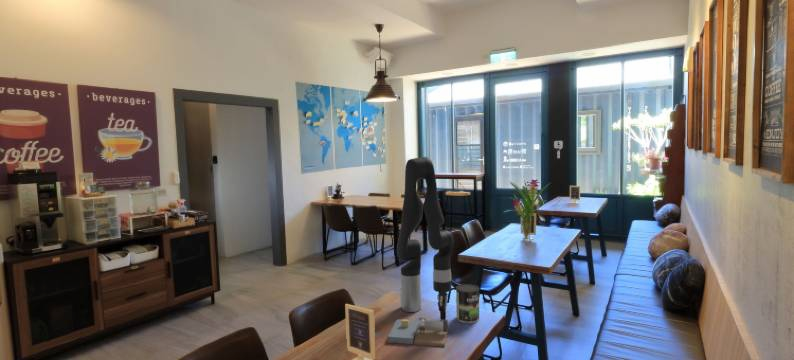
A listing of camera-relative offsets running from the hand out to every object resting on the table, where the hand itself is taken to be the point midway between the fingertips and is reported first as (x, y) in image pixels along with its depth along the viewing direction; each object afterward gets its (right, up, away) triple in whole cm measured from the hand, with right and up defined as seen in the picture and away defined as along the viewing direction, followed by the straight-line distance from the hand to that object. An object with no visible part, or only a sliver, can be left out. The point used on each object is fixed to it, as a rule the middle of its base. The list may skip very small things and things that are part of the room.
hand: (443, 318), depth 176 cm
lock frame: (-10, -6, -4) cm, 12 cm away
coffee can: (+12, -4, +11) cm, 17 cm away
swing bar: (-5, -3, -5) cm, 7 cm away
